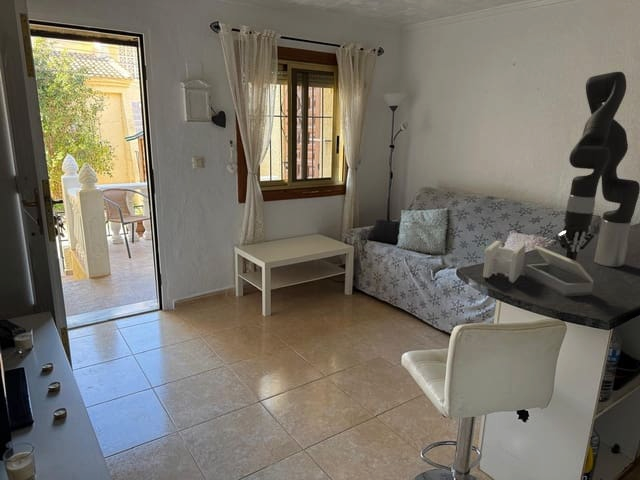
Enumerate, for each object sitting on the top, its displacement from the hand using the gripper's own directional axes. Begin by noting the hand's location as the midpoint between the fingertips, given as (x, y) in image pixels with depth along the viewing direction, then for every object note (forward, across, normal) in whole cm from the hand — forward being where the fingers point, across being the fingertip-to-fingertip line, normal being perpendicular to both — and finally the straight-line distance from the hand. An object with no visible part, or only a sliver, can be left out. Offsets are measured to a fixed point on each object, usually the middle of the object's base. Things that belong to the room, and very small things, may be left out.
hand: (570, 261), depth 147 cm
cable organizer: (+10, +14, -14) cm, 22 cm away
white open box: (+10, 0, -4) cm, 10 cm away
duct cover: (+2, -1, -4) cm, 5 cm away
